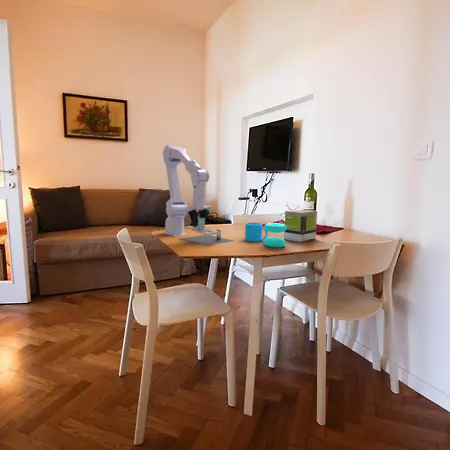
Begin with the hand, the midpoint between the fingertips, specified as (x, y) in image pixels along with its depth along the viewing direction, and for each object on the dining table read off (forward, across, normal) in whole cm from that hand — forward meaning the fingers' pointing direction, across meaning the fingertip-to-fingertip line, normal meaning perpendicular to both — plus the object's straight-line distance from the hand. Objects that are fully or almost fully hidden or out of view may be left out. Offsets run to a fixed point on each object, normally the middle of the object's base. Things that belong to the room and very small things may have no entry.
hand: (198, 226), depth 157 cm
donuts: (+7, +22, -27) cm, 36 cm away
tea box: (+7, +48, -25) cm, 54 cm away
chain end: (+2, 0, -1) cm, 2 cm away
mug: (+7, +24, -15) cm, 30 cm away
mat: (+7, +5, -1) cm, 9 cm away
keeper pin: (+7, +10, -4) cm, 12 cm away
